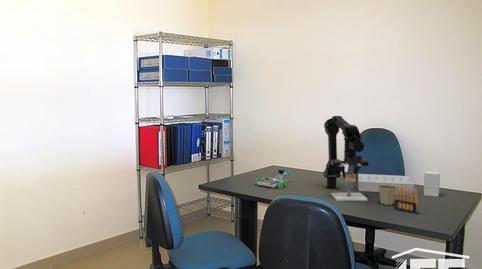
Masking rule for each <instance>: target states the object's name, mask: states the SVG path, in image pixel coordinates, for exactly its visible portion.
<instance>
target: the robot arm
mask: <svg viewBox="0 0 482 269" xmlns="http://www.w3.org/2000/svg"><path fill="white" fill-rule="evenodd" d="M323 127H324V131H325V133H326V135H327V142H328V143H327V144H328V147H327V149H328V150H327V151H328V161H327V163H326V165H325V169H324V171H323V173H322V174H323V177H324V178H325V179H326V184H325V185H324V187H325V188H326V189H329V190H330V189H332V190H333V189H339V187H338V186H337V184H338V180H337V179H338V178H341V175H342V179H343V178H344V179H345V172H346V171H345V168H346V166H345V165H348V166H353V173H355V174H356V175H358V172H359V170H360V169H361V168H363V167H369V166H370V163H369V161H368V160H367V159H366V158H365V159H364V158H363V157H362V155H357V153H360V152H362V151H364V148H365V144H364V142H363V141H361V140H362V135H361V132H360V130H359V127H358V126H356V124H350V123H349V122H347V120H345V119H344V118H343V116H341V115H333V116H332V117H331V118H329V119H326V120H325V122H324V124H323ZM340 130H341V133H342V135H343V137H344V138H343V141H344V150H343V155H344V156H343V160H341V159H339V158H338V145H337V144H338V141H337V135H338V134H339V132H340Z"/></svg>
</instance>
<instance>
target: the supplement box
mask: <svg viewBox="0 0 482 269" xmlns="http://www.w3.org/2000/svg"><path fill="white" fill-rule="evenodd" d="M423 174H424V176H423V177H424V178H423V196H427V197H439V196H440V182H441V181H440V180H441V179H440V178H441V171H432V170H431V171H430V170H425V172H424V173H423Z"/></svg>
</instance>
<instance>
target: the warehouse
mask: <svg viewBox="0 0 482 269" xmlns="http://www.w3.org/2000/svg"><path fill="white" fill-rule="evenodd" d="M379 185H392V186H396V187H397V185H398V186H399V194H400V187H401V186H402V189H403V192H404V187H406V194H407V189H408V187H409V188H410V195H411V189H412V187H413V191H414V193H415V189H416V185H415V181H414V180H413V178H412V176H411V175H398V174H397V175H395V174H394V175H393V174H392V175H391V174H375V173H374V174H371V173H369V174H368V173H357V188H358V191H359V192H375V193H376V192H377V193H379V188H378V186H379ZM395 194H396V192H395Z"/></svg>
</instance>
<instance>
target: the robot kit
mask: <svg viewBox="0 0 482 269" xmlns="http://www.w3.org/2000/svg"><path fill="white" fill-rule="evenodd" d="M277 173H278V174H277V175H275V178H273V177H269V176H268V177H267V176H263V177H261V178H260V177H258V178H256V179H255V185H256V184H257V185H256V186H263V187H268V188H269V187H270V188H275V187H276V188H277V189H278V190H281V188H282V189H283V187H284V186H285V188H287V187H289V185H290V182H289V180H288V179H283V178H284V177H286V176H289V177H290V176H292V175H293V172H289V173H288V172H287V171H286V172H285V169H284V168H278V172H277Z"/></svg>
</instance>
